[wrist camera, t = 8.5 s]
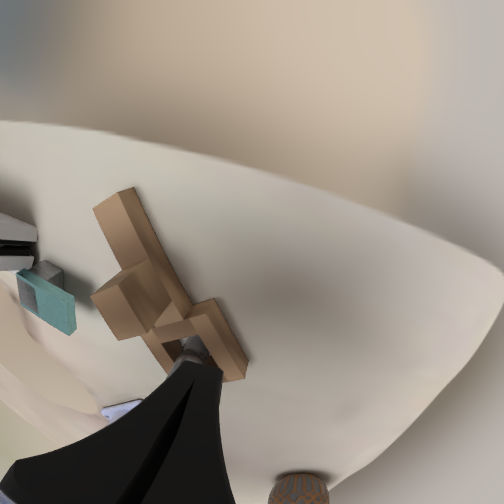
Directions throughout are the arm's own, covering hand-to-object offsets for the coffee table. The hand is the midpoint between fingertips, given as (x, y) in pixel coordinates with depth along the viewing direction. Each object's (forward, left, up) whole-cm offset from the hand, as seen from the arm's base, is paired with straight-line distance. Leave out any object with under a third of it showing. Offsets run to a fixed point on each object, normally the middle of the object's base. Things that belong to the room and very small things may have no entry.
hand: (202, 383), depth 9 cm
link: (+2, +5, -8) cm, 10 cm away
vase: (-26, +9, -9) cm, 28 cm away
